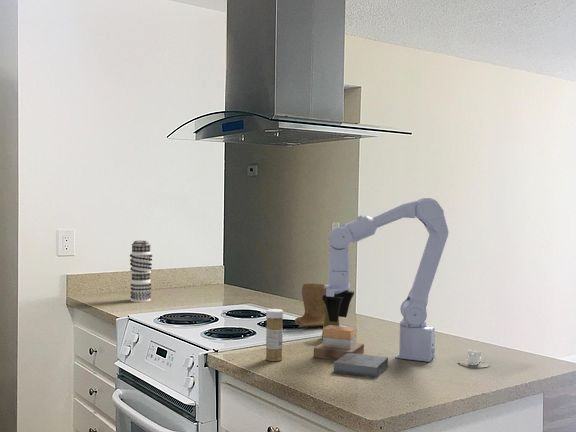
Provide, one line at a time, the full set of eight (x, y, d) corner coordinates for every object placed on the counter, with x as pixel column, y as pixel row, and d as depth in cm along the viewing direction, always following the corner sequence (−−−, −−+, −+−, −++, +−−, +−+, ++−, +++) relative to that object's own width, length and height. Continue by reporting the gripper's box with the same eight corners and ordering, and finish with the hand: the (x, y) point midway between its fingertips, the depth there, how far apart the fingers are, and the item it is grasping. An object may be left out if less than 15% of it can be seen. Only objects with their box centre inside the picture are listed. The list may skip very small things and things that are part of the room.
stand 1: (363, 352, 177) (364, 343, 177) (352, 361, 167) (352, 352, 167) (327, 348, 181) (327, 340, 181) (313, 357, 171) (313, 348, 171)
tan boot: (323, 320, 223) (323, 279, 223) (341, 327, 213) (342, 283, 212) (286, 324, 216) (286, 281, 215) (303, 331, 205) (304, 285, 205)
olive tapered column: (329, 335, 199) (329, 301, 199) (344, 338, 195) (345, 303, 195) (317, 338, 194) (318, 303, 194) (333, 341, 191) (334, 305, 190)
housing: (355, 345, 175) (356, 327, 174) (350, 349, 170) (350, 331, 170) (328, 342, 178) (329, 325, 178) (322, 346, 173) (322, 328, 173)
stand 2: (387, 367, 162) (388, 357, 162) (376, 377, 152) (376, 367, 152) (347, 362, 166) (347, 352, 166) (333, 372, 156) (333, 362, 156)
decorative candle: (144, 302, 257) (145, 241, 256) (125, 301, 259) (125, 241, 259) (156, 299, 265) (156, 240, 265) (136, 298, 268) (137, 239, 267)
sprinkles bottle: (273, 356, 171) (274, 307, 170) (286, 359, 168) (286, 309, 167) (261, 359, 167) (262, 309, 167) (274, 362, 164) (274, 312, 164)
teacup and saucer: (470, 360, 172) (470, 345, 172) (496, 366, 166) (497, 350, 166) (452, 365, 166) (452, 350, 166) (478, 371, 160) (479, 355, 160)
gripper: (334, 267, 182) (333, 313, 183) (316, 272, 169) (315, 322, 169) (357, 268, 180) (356, 315, 180) (340, 273, 166) (340, 324, 167)
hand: (338, 319), depth 174 cm, fingers open, 7 cm apart
